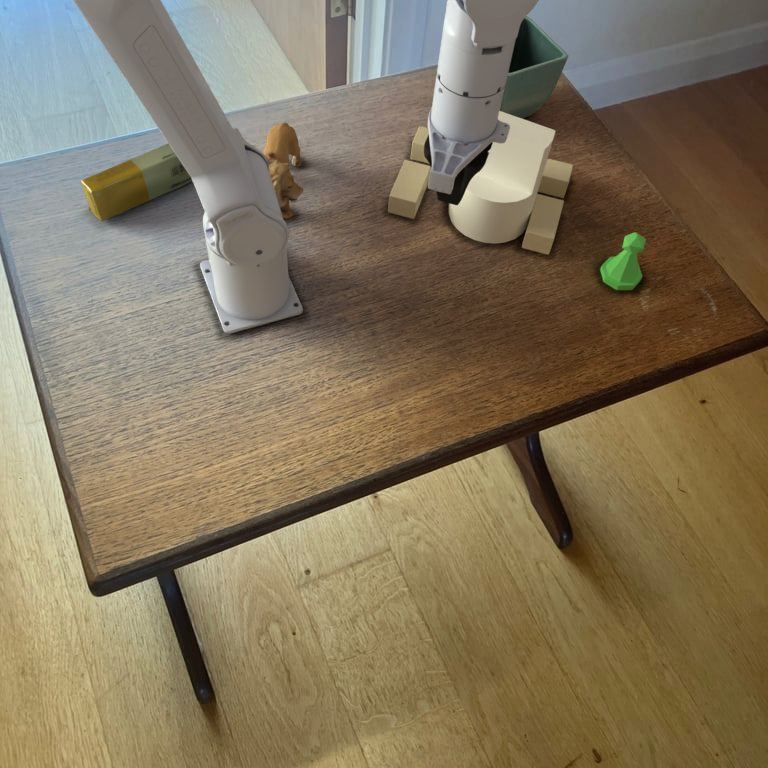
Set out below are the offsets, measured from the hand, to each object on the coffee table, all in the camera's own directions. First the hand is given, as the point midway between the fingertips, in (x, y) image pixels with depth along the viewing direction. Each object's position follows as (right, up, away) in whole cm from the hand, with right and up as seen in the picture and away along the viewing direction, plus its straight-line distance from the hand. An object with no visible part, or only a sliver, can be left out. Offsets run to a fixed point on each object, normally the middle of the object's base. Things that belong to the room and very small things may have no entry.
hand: (449, 198), depth 78 cm
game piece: (+19, -6, +8) cm, 21 cm away
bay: (+4, +3, +13) cm, 14 cm away
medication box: (-32, +3, +11) cm, 34 cm away
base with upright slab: (+5, +1, +12) cm, 13 cm away
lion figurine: (-17, +2, +11) cm, 21 cm away
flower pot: (+8, +16, +22) cm, 28 cm away
